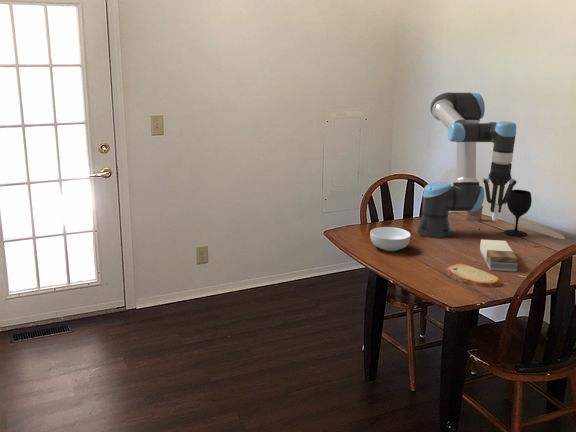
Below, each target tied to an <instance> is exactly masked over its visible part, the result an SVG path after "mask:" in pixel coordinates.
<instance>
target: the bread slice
mask: <svg viewBox="0 0 576 432" xmlns="http://www.w3.org/2000/svg"><path fill="white" fill-rule="evenodd" d="M442 273H443V274H445V276H447V278H449V279H451V280H453V281H456V282H458V283H461V284H466V285H470V286H476V287H483V288H497V287H500V286H501V284H502V283H501V282H500V279H499V277H498V276H496V275H494V274H492V273H489V272H488V271H485V270H482V269H479V268H476V267H473V266H470V265H467V264H464V263H457V264H452V265H451V266H448V267H447V268H446V269H443V272H442Z"/></svg>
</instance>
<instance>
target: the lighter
mask: <svg viewBox="0 0 576 432" xmlns="http://www.w3.org/2000/svg"><path fill="white" fill-rule="evenodd" d="M483 208H484V206H483V205H482V206H481V208H480V209H479V210H478V211H470V212H465V216H464V221H467V222H482V220H483V219H482V218H483V217H482V216H483Z"/></svg>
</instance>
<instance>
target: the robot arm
mask: <svg viewBox="0 0 576 432" xmlns="http://www.w3.org/2000/svg"><path fill="white" fill-rule="evenodd" d="M485 111H486V106H485V100H484V97H482V94H480V93H478V92H451V91H450V92H443V93H440V94H439V95H437V96H436V97H434V99H433V100H432V102H431V104H430V113H431V115H432V116H433V118H434V119H435V120H437V121H440V122H441V123H442V124H443V126H444V127H446V129H447V137H448V140H449V141H450V142H452V143H456V177H455V180H453V182H452V185H451V183H449V182H442V181H437V182H431V183H428V184H426V185H425V186H424V190H423V194H422V197H423V200H422V210H421V211H422V212H421V217H420V220H419V222H418V224H417V226H416V233H417V234H419V235H421V236H423V237H426V238H427V237H428V238H435V239H436V238H439V239H440V238H441V239H442V238H447V237H450V236H451V234H452V233H451V232H452V231H451V225H450V222H449V212H451V213H452V212H459V213H460V212H461V213H462V212H465V213H466V212H470V211H478V210H479V209H480V208H481V206H483V204H484V200H485V197H486V201H487V203H488V204H490V209H489V210H490V212H491V213H492V215H491V219H492V221H493V222H498V217H499V216H498V215H499V213H501V212H502V206H503V205H506V204H507V201H508V199H509V196H510V194H511V191H512V190H514V189H513V188H514V187H515V185H516V184H517V182H518V181H517V180H516V179H514V178H513V177H512V174H511V172H512V166H513V164H512V162H513V156H514V149H515V142H516V136H517V124H516V123H515V122H512V121H505V120H504V121H502V120H501V121H497V122H495V121H489V122H486V123H485V122H481V119H483V118H484V116H485ZM477 143H492V144H493V146H492V147H493V148H492V156H491V163H490V172H489V174H488V176H486V177H484V178H483V177H482V179H481V180H482V182H483V184H484V187H483V186H481V185H480V181H479V180H478V179H477ZM490 182H491V184H492V191H490V186H489V185H490V184H489V183H490ZM507 184H508V185H507ZM506 185H507V189H506V191H505V186H506ZM498 188H499V189H498ZM498 191H499V192H498ZM497 192H498V193H497ZM504 192H505V194H504ZM497 195H498V196H497ZM496 201H497V202H496Z"/></svg>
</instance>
